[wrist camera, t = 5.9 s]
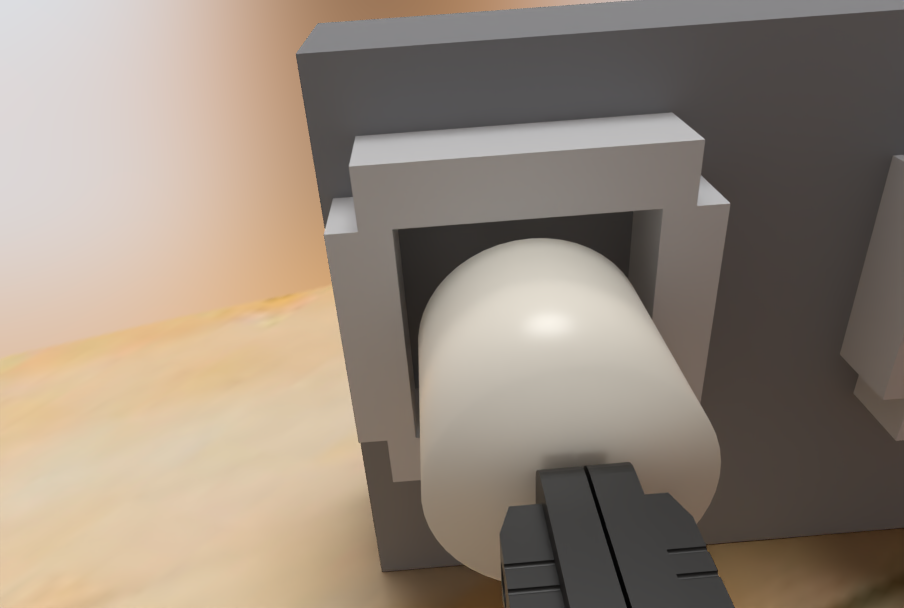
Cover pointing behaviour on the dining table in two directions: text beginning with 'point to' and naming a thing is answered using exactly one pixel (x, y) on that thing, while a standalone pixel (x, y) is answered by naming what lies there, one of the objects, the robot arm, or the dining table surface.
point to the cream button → (546, 391)
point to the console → (638, 223)
